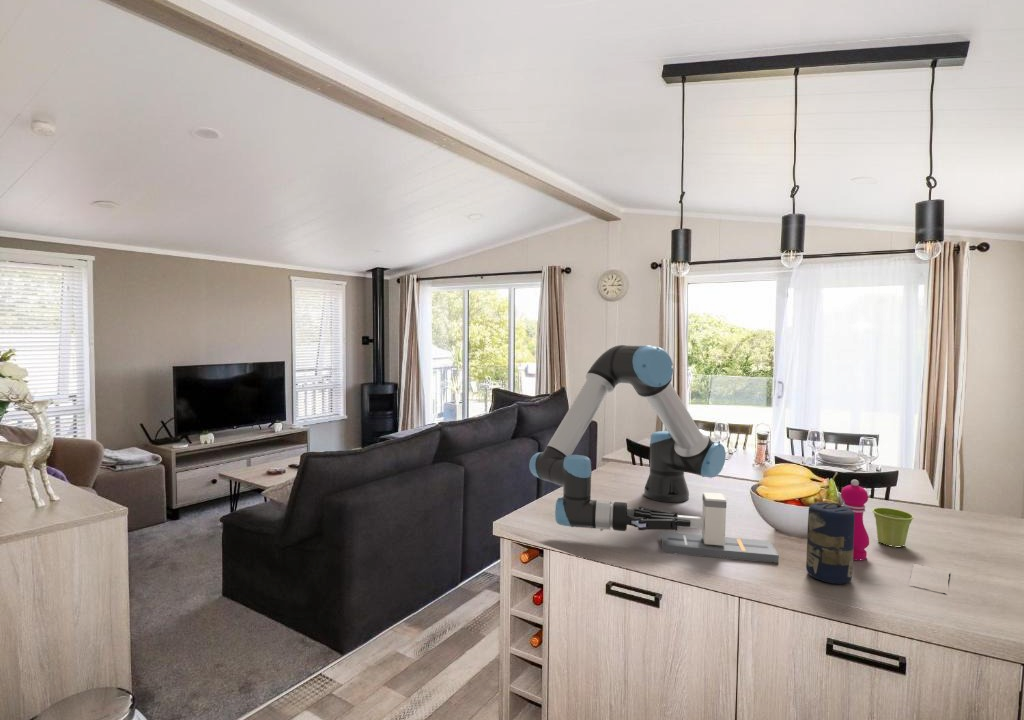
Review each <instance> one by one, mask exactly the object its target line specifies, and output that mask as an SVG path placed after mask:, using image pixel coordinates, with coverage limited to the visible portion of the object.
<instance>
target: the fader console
mask: <svg viewBox="0 0 1024 720" xmlns="http://www.w3.org/2000/svg"><path fill="white" fill-rule="evenodd" d="M660 533H661V534H660V536H661V537H660V538H661V541H662V542H661V547H662V548H661V549H662V550H663V551H662V553H663V552H665V554H673V553H677V554H676V555H685V554H686V555H687V556H696V557H706V558H707V557H708V558H718V559H730V560H739V559H740V561H750V560H751V562H761V561H762V562H763V563H772V562H774V564H775V563H776V564H779V559H780V557H779V554H778V552H777V550H776V549H775V547H774V545H773V544H772V542H771V541H770V540H765V539H764V540H763V539H752V538H740V537H728V536H725V546H722V545H710V544H704V541H703V538H702V534H694V533H693V534H691V533H680V532H667V531H666V532H665V531H660ZM686 555H685V556H686Z"/></svg>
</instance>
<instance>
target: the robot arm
mask: <svg viewBox="0 0 1024 720" xmlns="http://www.w3.org/2000/svg"><path fill="white" fill-rule="evenodd" d="M673 365H674V364H673V360H672V358H671V356H670V354H669V353H668V352H667V351H666V350H665V349H663V348H662V347H659V346H653V345H624V344H619V345H616V346H613V347H611V348H609V349H607V350H606V351H604V352H603V353H602V354H601V355H600V356H599V357H598V358H597V359H596V360H595V361H594V363H592V365H591V366H590V368H589V370H588V372H586V375H585V379H586V380H585V382H584V384H583V386H582V388H580V391H579V393H578V394H577V396H576V397H575V399H574V401H573V402H572V404H571V405H570V408H569V409H568V411H567V412H566V413H565V415H564V417H563V418H562V420H561V422H560V424H559V425H558V427H557V429H556V430H555V431H554V434H553V435H552V436H551V439H550V440H549V442H548V444H547V445H546V448H545V449H544V450H543V451H542V452H541V451H540V452H536V453H534V455H532V456H531V458H530V460H529V464H528V467H529V472H530V473H531V474H532V475H533V476H534V477H536V478H538V479H539V480H542V481H545V482H549V483H552V484H555V485H557V486H560V487H563V490H562V491H563V494H562V495H563V497H558V498H557V499H556V502H555V511H554V518H555V522H556V524H557V525H559V526H563V527H564V526H565V527H570V528H585V529H598V530H599V531H601V532H602V531H603V530H609V531H610V530H611V529H612V530H614V531H620V532H626V531H627V530H628V529H627V528H628V526H631V527H634V528H637V530H638V531H646V530H649V531H650V530H651V531H652V530H654V531H655V530H656V531H658V530H659V531H660V530H662V531H663V530H665V531H666V530H667V531H668V530H669V531H671V530H672V531H678V528H685V529H686V528H687V529H698V530H699V529H700V530H702V529H703V525H704V518H703V517H702V516H693V515H682V514H681V515H680V514H678V511H669V510H668V511H667V510H661V509H655V508H654V509H653V508H649V507H644V506H638V508H634V509H628V503H627V502H622V501H614V502H613V503H612V501H611V500H598V499H596V500H593V499H591V497H592V496H591V490H592V473H593V472H592V465H591V464H592V461H591V458H589V457H588V456H586V455H582V454H581V455H580V454H573V453H574V451H575V449H576V447H577V445H578V444H579V442H580V441H581V439H582V437H583V435H584V434H585V432H586V430H587V428H588V427H589V425H590V423H592V421H593V419H594V417H595V415H596V413H597V412H598V410H599V408H600V406H602V403H603V402H604V400H605V398H606V396H607V395H608V393H612V392H613V391H614V389H615V388H616V386H617V385H618V384H621V383H622V384H630V385H631V386H632V388H633V390H635V392H636V394H637V395H638V396H640V397H642V398H646V399H647V401H648V402H649V404H650V405H651V407H652V409H653V410H654V412H655V413H656V415H657V416H658V418H659V420H660V421H661V422H662V424H663V426H664V427H665V430H662V431H661V430H659V431H655V432H654V431H653V433H652V434H651V435H650V441H649V442H650V443H649V474H648V478H647V480H646V483H645V486H644V490H643V491H644V493H643V495H644V497H645V498H647V499H650V500H654V501H657V502H663V503H664V502H665V503H681V502H686V501H688V500H689V499H690V491H689V488H688V484H687V482H686V477H685V473H689V474H693V475H696V476H700V477H703V478H709V479H711V478H715V477H717V476H719V474H720V473H721V472H722V470H723V468H724V466H725V462H726V456H727V455H726V449H725V447H724V445H723V444H722V443H719V442H718V441H713V440H712V439H711V438H710V436H709V434H708V433H707V431H705V430H703V429H700V428H699V427H698V426H697V424H696V422H695V421H694V419H693V417H692V416H691V414H690V412H689V411H688V409H687V407H686V406H685V405H684V403H683V401H682V399H681V398H680V396H679V395H678V393H677V391H676V389H675V388H674V386H673V385H672V381H673V373H674V368H673V367H672V366H673Z"/></svg>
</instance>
